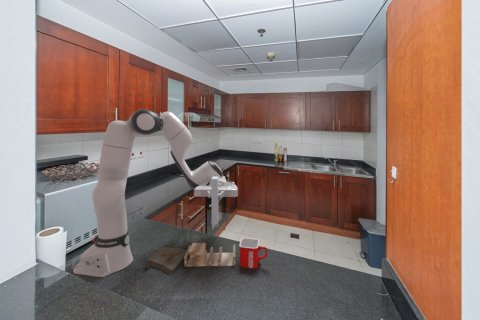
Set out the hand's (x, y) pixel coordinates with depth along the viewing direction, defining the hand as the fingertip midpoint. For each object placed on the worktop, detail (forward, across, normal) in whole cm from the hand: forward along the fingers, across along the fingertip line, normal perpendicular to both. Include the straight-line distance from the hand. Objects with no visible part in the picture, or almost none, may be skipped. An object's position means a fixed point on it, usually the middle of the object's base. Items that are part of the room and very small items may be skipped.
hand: (214, 196), depth 89 cm
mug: (+2, +17, +31) cm, 36 cm away
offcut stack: (-1, -8, +30) cm, 31 cm away
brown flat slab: (0, -22, +32) cm, 39 cm away
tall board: (-1, 0, +12) cm, 12 cm away
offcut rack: (-1, -2, +31) cm, 31 cm away
